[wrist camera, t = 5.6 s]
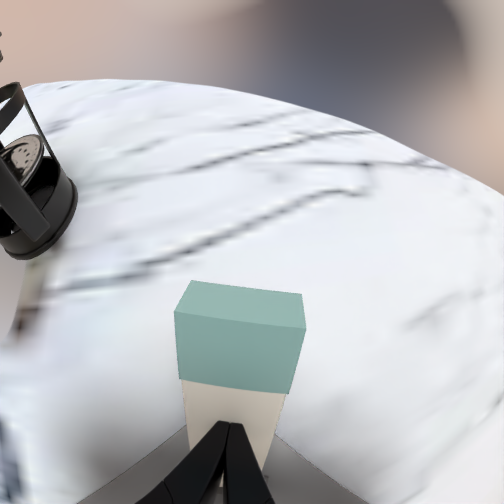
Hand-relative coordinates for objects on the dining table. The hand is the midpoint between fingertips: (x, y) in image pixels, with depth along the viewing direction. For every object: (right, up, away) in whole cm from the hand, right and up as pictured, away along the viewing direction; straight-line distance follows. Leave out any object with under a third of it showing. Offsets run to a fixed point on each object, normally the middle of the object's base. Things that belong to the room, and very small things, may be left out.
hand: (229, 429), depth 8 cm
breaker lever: (-1, -7, +3) cm, 7 cm away
